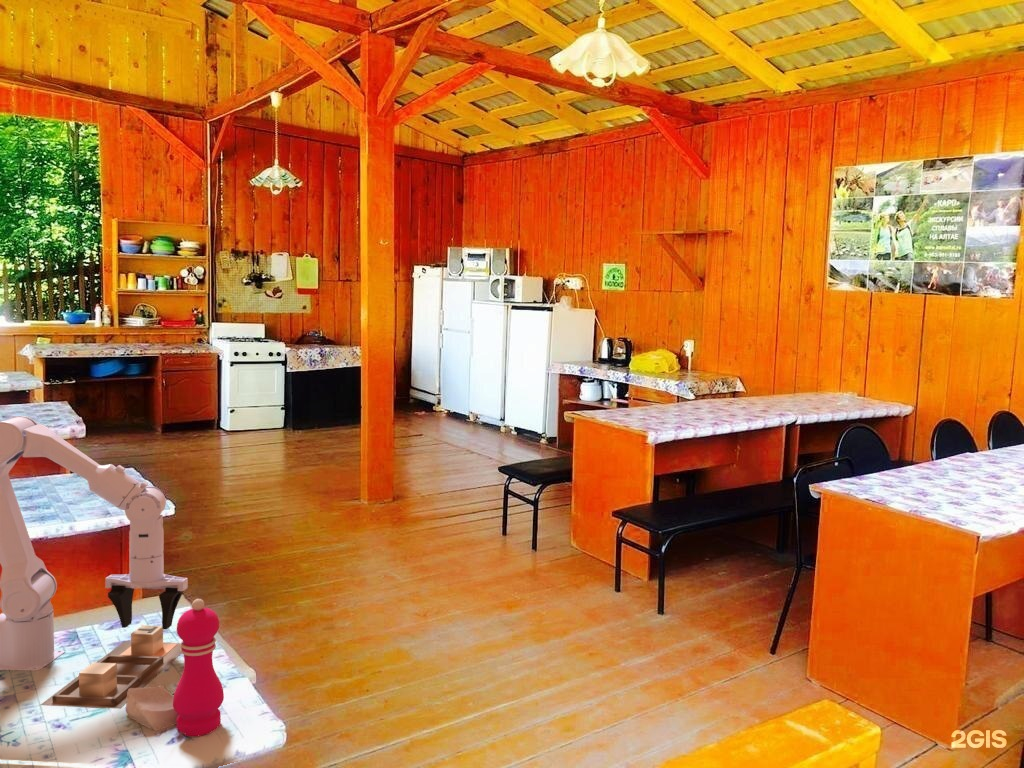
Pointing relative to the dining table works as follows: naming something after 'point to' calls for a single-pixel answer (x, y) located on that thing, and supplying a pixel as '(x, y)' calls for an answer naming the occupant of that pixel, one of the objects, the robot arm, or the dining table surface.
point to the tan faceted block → (151, 707)
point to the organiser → (119, 677)
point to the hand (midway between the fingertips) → (146, 626)
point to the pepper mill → (198, 673)
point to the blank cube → (98, 679)
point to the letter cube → (146, 640)
